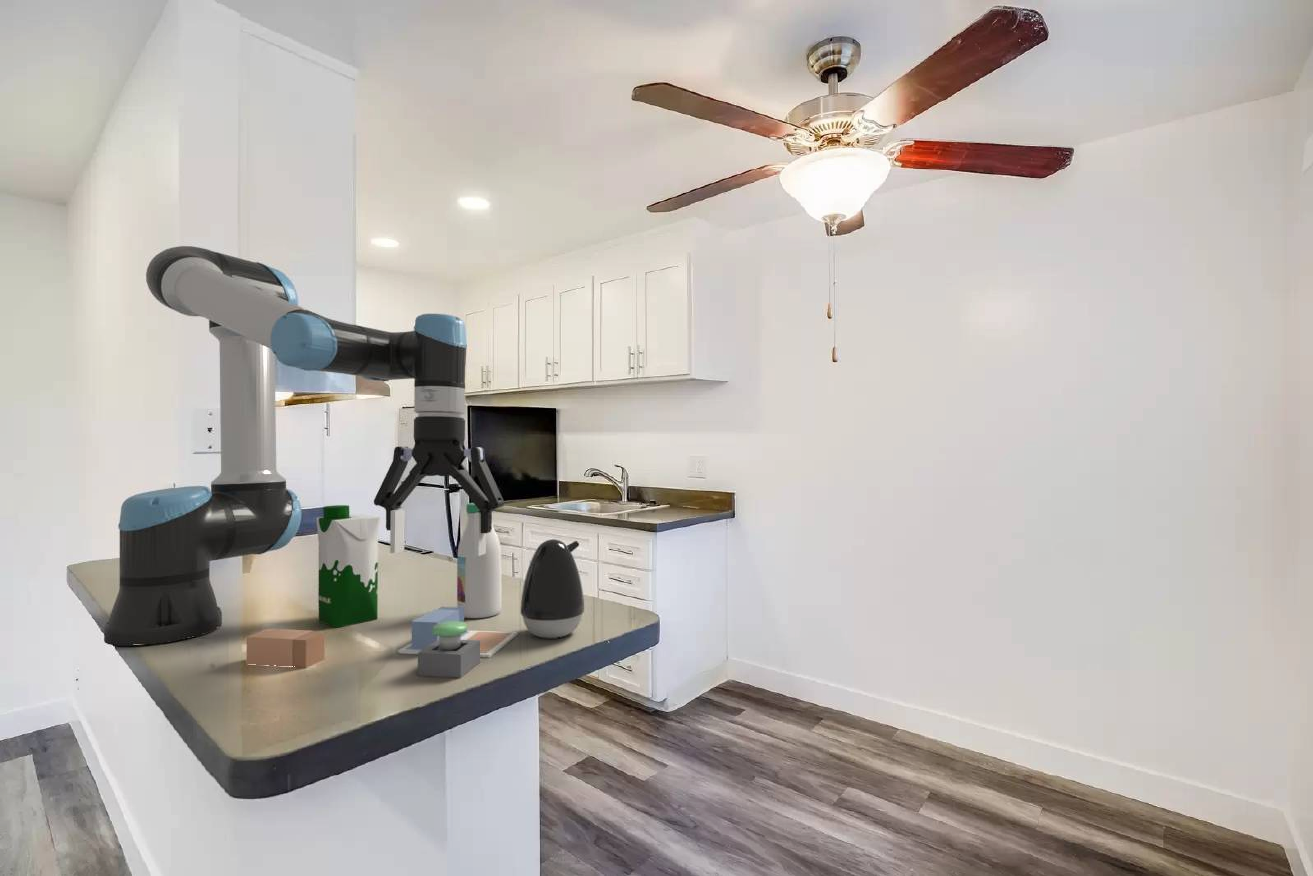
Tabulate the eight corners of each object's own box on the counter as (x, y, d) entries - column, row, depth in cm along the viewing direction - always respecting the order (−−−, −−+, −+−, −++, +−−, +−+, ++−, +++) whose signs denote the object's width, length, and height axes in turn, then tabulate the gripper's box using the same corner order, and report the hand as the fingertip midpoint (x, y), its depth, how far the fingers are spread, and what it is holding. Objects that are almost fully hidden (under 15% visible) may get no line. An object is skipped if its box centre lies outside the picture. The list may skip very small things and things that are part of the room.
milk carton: (310, 621, 109) (311, 505, 110) (363, 610, 116) (363, 502, 117) (332, 630, 104) (333, 508, 104) (386, 619, 111) (386, 505, 111)
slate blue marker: (437, 649, 92) (437, 622, 92) (411, 648, 92) (411, 621, 93) (464, 632, 101) (464, 607, 101) (441, 631, 101) (441, 606, 101)
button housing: (417, 675, 83) (417, 652, 83) (439, 660, 89) (439, 638, 89) (460, 677, 82) (460, 654, 82) (480, 662, 88) (480, 640, 88)
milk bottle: (507, 608, 117) (507, 501, 118) (492, 620, 110) (492, 505, 110) (467, 607, 118) (467, 501, 118) (449, 619, 110) (450, 504, 111)
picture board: (398, 653, 92) (398, 649, 92) (435, 631, 103) (435, 628, 103) (489, 657, 90) (489, 654, 90) (517, 635, 101) (517, 631, 101)
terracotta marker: (246, 666, 87) (246, 637, 87) (268, 656, 91) (268, 628, 91) (305, 669, 86) (305, 639, 86) (324, 659, 90) (325, 631, 90)
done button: (426, 651, 84) (426, 629, 84) (442, 640, 88) (442, 620, 88) (457, 652, 83) (457, 631, 83) (472, 642, 87) (472, 622, 87)
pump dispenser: (598, 633, 102) (598, 538, 102) (546, 648, 94) (546, 546, 94) (559, 621, 109) (559, 533, 109) (507, 634, 101) (507, 539, 101)
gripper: (350, 414, 96) (348, 554, 95) (507, 414, 92) (506, 560, 92) (379, 416, 103) (377, 546, 103) (525, 417, 99) (524, 551, 99)
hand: (438, 553), depth 97 cm, fingers open, 13 cm apart
